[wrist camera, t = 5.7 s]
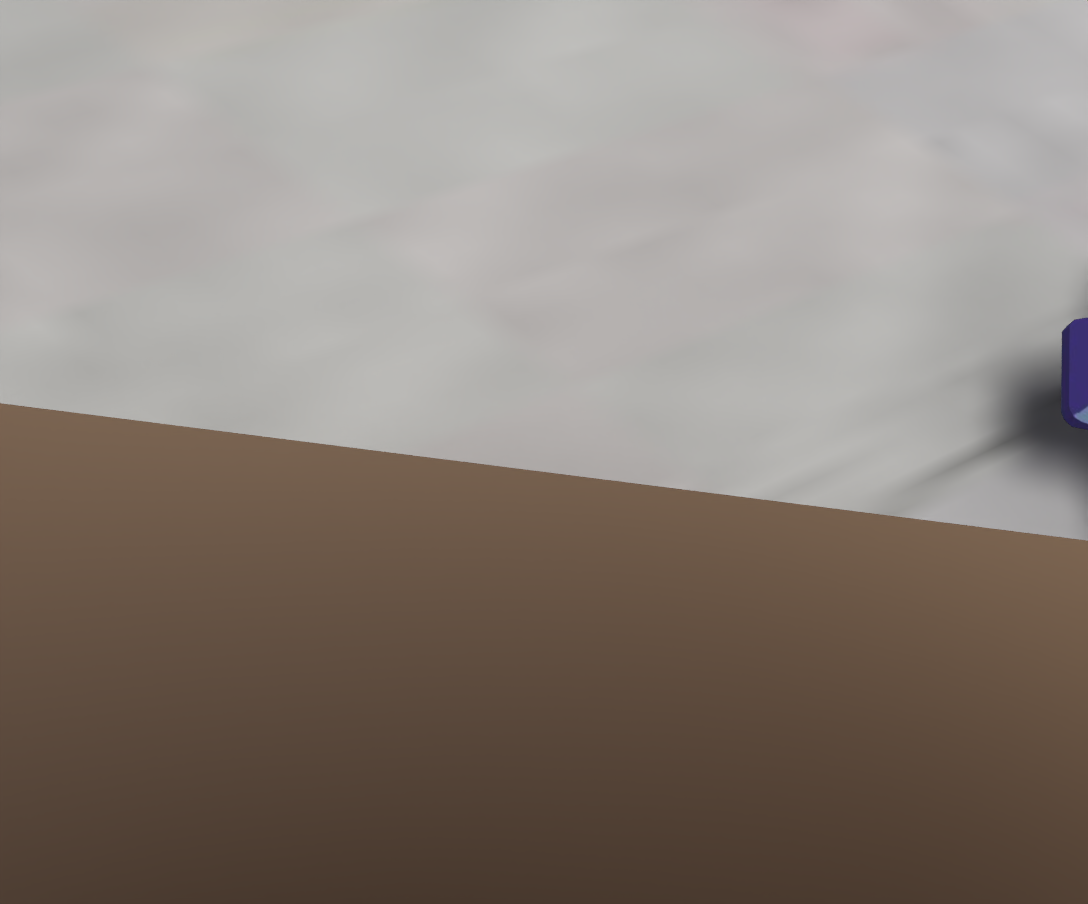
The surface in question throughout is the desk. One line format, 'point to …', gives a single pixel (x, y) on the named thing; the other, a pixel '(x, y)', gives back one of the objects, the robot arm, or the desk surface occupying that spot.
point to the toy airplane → (1075, 374)
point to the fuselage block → (515, 686)
